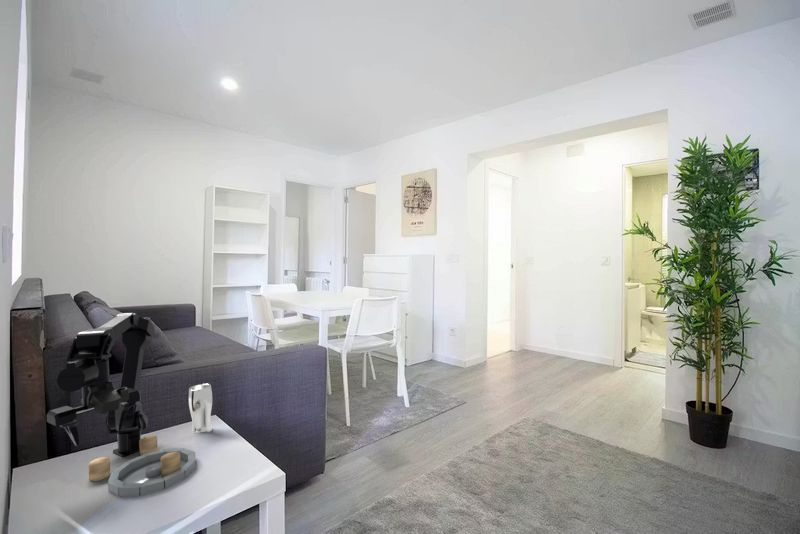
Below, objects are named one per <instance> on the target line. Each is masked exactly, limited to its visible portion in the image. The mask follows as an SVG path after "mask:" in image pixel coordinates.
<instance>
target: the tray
mask: <svg viewBox="0 0 800 534" xmlns="http://www.w3.org/2000/svg"><path fill="white" fill-rule="evenodd" d="M171 452H179V453H180V461H181V468H180V469H179V470H178V471H176V472H174V473H172V474H169V475H167V476H165V477H163V478H161V457H162V456H163V455H165V454H167V453H171ZM196 459H197V458H196V452H195V451H193V450H191V449H189V448H184V447H177V448H176V447H175V448H164V449H159V450H158V451H155V452H150V453H146V454H144V455H141V456H140V455H139V456H137V457H134V458H132V459H129V460H127V461H126V462H124V463H122V464H121V465H120V466H118V467H117V468H115V469H114V470H113V471H111V472H110V475H109V478H108V481H107V487H108V488H107V489H108V492H109V493H111V494H113V495H115V496H116V497H139V496H145V495H148V494H152V493H155V492H160V491H162V490H163V491H164V490H166V489H168V488H170V487H173V485H176V484H178V483H179V482H181V481H183V480H185V479H186V478H188V476H189V475H191V474H192V473H193V471H194V470H195V469H196V468H197V461H196Z"/></svg>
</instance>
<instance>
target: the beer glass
mask: <svg viewBox="0 0 800 534" xmlns="http://www.w3.org/2000/svg"><path fill="white" fill-rule="evenodd" d="M188 407H189V412H190V413H189V414H190V416H191V420H192V421H191V422H192V428H191V433H195V434H196V433H204V432H206V433H208V434H209V433H210V432H212V431H213V426H212V422H211V415H212V414H211V413H212V407H213V391H212V385H211V384H210V383H202V384H195V385H192V386H190V387H189V388H188Z"/></svg>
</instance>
